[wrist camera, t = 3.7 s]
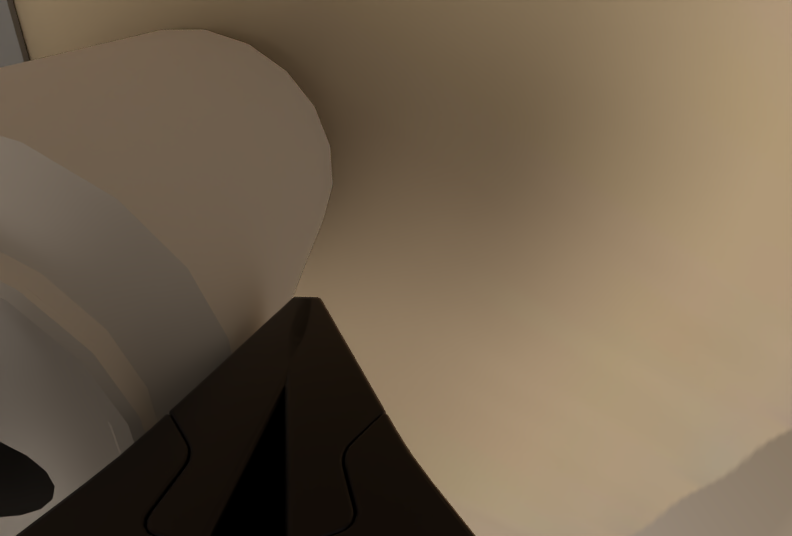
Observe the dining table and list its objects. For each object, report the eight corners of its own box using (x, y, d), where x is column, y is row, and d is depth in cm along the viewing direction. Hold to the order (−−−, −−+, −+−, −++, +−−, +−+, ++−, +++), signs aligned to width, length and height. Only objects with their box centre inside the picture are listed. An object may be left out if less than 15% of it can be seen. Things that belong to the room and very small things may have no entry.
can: (108, 245, 19) (-295, 598, 8) (80, 3, 15) (-699, 86, 5) (326, 277, 19) (206, 662, 8) (349, 48, 15) (188, 221, 5)
